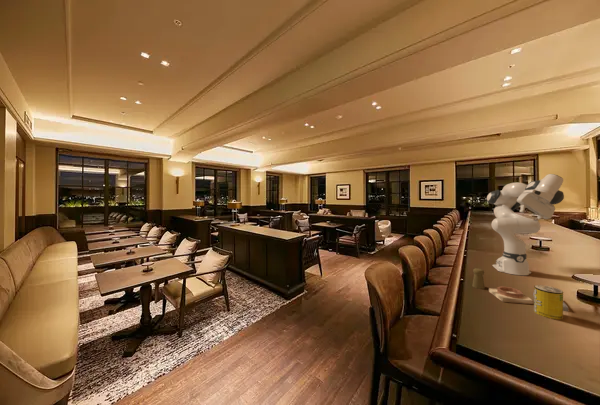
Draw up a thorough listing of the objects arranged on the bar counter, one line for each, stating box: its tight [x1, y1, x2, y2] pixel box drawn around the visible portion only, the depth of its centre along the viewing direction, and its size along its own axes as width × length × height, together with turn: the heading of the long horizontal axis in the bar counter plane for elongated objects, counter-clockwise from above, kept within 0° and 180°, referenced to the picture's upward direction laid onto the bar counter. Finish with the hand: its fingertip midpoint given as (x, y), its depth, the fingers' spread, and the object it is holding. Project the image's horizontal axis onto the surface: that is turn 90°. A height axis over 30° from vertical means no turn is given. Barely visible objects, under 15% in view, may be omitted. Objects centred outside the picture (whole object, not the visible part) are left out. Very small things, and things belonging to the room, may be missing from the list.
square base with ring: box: [488, 286, 534, 305], centre depth 122 cm, size 13×13×4 cm
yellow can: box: [533, 284, 564, 321], centre depth 105 cm, size 9×9×12 cm
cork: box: [471, 267, 486, 290], centre depth 136 cm, size 6×6×11 cm
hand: (528, 216), depth 138 cm, fingers open, 8 cm apart
